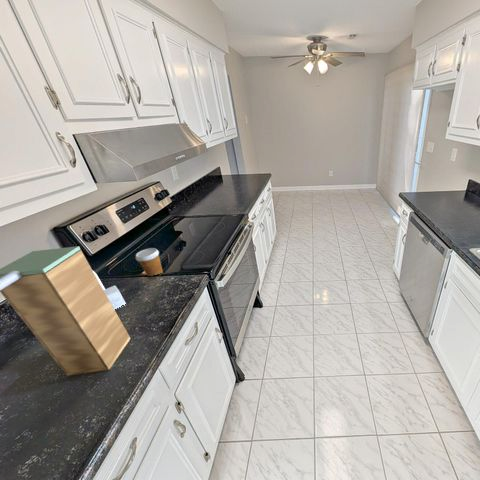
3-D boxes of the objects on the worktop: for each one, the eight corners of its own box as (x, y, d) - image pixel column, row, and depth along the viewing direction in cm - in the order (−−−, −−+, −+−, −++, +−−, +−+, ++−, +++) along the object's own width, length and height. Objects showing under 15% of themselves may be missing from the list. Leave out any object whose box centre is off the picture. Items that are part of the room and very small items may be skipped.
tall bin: (66, 375, 75) (-10, 280, 60) (93, 343, 86) (35, 254, 70) (109, 369, 76) (45, 273, 61) (130, 338, 87) (81, 249, 71)
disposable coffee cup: (139, 278, 121) (129, 256, 116) (156, 267, 129) (147, 246, 124) (154, 280, 118) (144, 258, 113) (170, 269, 126) (162, 248, 121)
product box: (105, 306, 103) (96, 292, 100) (122, 298, 107) (115, 284, 104) (109, 313, 100) (100, 298, 96) (126, 304, 104) (119, 290, 100)
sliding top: (-60, 310, 51) (-68, 301, 50) (35, 256, 71) (31, 249, 70) (5, 302, 52) (-2, 294, 51) (81, 251, 72) (77, 244, 70)
